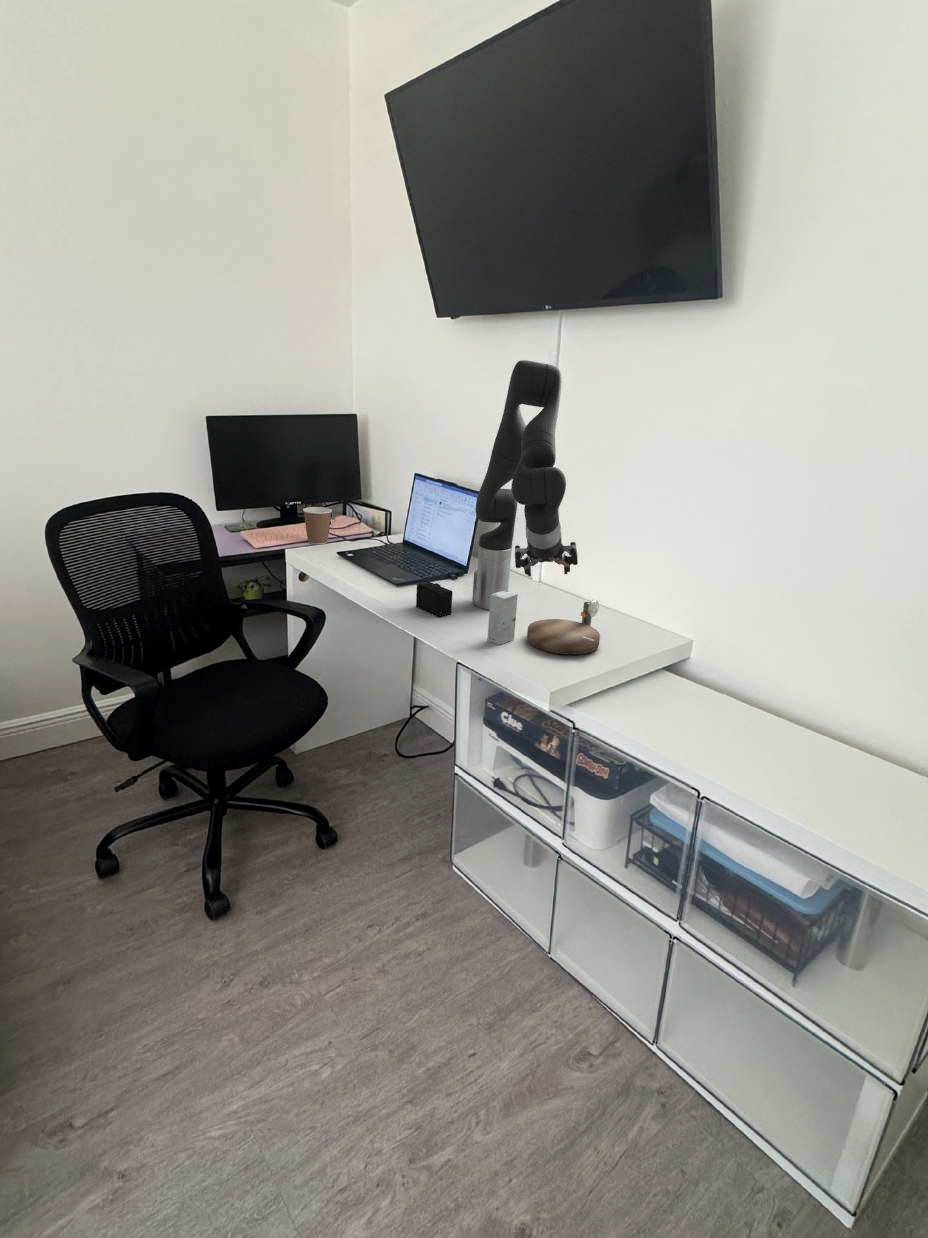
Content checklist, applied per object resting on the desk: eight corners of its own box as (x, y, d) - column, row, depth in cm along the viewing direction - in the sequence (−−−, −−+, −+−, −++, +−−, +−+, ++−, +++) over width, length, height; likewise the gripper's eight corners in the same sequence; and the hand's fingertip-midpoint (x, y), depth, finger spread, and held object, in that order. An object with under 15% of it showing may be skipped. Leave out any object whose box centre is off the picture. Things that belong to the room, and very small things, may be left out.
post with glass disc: (586, 636, 182) (590, 602, 178) (576, 633, 183) (580, 599, 180) (595, 631, 185) (599, 598, 182) (585, 628, 187) (589, 595, 184)
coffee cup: (336, 540, 260) (336, 508, 256) (325, 546, 251) (324, 513, 247) (310, 537, 262) (310, 505, 258) (298, 543, 253) (297, 510, 249)
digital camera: (455, 614, 191) (456, 590, 189) (439, 618, 188) (441, 593, 185) (431, 604, 198) (432, 580, 196) (415, 607, 195) (416, 583, 193)
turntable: (512, 639, 174) (513, 630, 173) (551, 622, 188) (552, 613, 187) (575, 660, 164) (577, 650, 163) (611, 641, 177) (612, 632, 176)
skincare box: (500, 645, 172) (504, 598, 168) (486, 640, 174) (489, 594, 170) (515, 639, 176) (519, 593, 172) (501, 634, 179) (504, 589, 175)
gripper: (576, 517, 152) (577, 557, 166) (510, 521, 154) (517, 560, 169) (577, 545, 149) (578, 584, 163) (510, 549, 151) (517, 587, 165)
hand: (547, 572), depth 166 cm, fingers open, 8 cm apart
